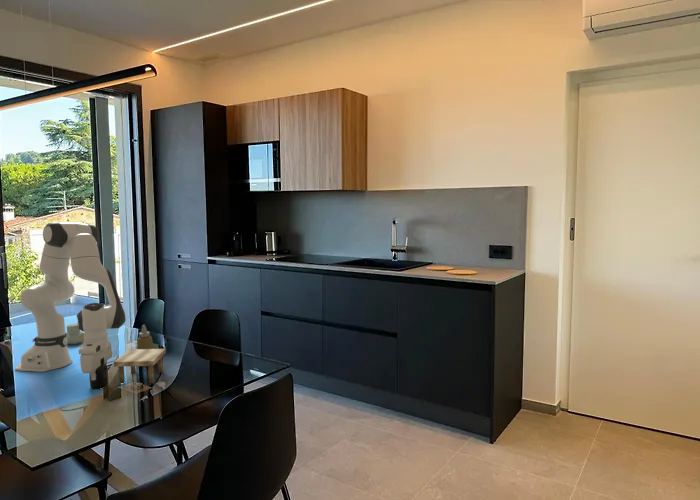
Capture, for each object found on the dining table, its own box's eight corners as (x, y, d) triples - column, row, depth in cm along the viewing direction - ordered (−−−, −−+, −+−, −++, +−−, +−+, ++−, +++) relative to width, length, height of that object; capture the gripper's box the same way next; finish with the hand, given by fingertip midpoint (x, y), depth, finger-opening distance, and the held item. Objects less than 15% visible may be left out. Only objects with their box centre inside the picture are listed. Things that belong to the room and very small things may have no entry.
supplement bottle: (105, 382, 210) (103, 354, 208) (111, 386, 205) (109, 358, 204) (87, 386, 205) (85, 358, 204) (93, 391, 200) (91, 362, 199)
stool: (115, 385, 206) (113, 362, 205) (130, 371, 222) (129, 349, 221) (154, 384, 207) (153, 361, 206) (166, 370, 223) (165, 348, 222)
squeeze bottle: (148, 365, 229) (146, 327, 226) (133, 364, 230) (130, 327, 228) (158, 359, 236) (156, 323, 234) (143, 358, 238) (141, 322, 236)
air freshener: (76, 346, 258) (74, 327, 257) (60, 346, 258) (59, 327, 257) (87, 339, 269) (86, 321, 268) (72, 339, 269) (71, 322, 268)
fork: (173, 405, 193) (173, 399, 192) (152, 385, 207) (151, 378, 207) (180, 403, 195) (180, 396, 194) (158, 383, 209) (158, 377, 209)
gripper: (99, 335, 213) (102, 366, 215) (76, 351, 193) (78, 385, 194) (115, 335, 213) (117, 366, 215) (92, 351, 193) (95, 385, 195)
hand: (98, 375), depth 205 cm, fingers closed on supplement bottle, 7 cm apart
